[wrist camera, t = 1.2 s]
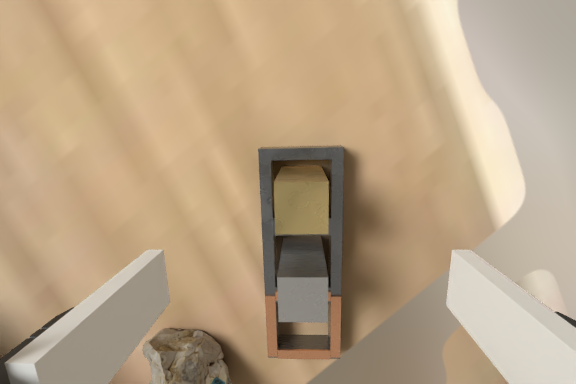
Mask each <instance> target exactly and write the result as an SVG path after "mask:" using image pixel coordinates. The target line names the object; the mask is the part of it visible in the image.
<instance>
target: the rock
mask: <svg viewBox="0 0 576 384" xmlns="http://www.w3.org/2000/svg"><path fill="white" fill-rule="evenodd" d="M143 354H144V356H145V358H147V359H148V361H149V363H150V366H151V372H152V381H151V382H150V384H233V383H232V380H231V379H230V377H229V373H228V365H226V364H225V363H224V362H223V360H222V359H223V352H222V350H221V347H220V345H219V344H218V343H217V342H216V341H215V340H214V339H213V338H212V337H211V336H209V335H208V334H206V333H205V332H203V331H200V330H196V331H194V330H182V329H167V328H165V329H162V330H161V331H159V332H158V333H157V334H156V335H155V336H154V337H152V338H151V339H150V340H148V341H146V342H145V344H144V345H143Z"/></svg>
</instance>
